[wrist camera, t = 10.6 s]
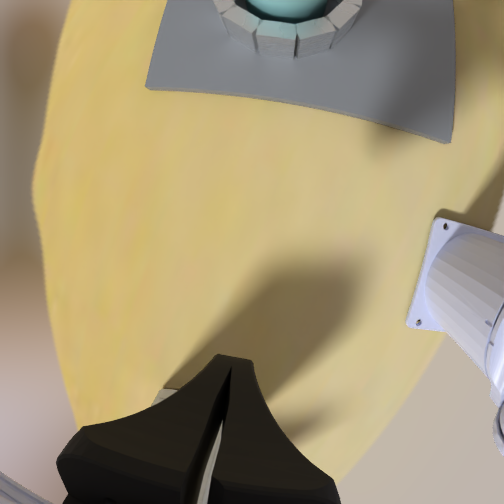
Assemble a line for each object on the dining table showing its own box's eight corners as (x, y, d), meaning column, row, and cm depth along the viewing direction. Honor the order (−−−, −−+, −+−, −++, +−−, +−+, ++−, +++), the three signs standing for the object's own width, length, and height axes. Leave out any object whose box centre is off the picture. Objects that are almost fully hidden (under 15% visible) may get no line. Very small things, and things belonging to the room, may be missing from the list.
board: (445, -13, 15) (450, -18, 14) (444, 143, 18) (450, 142, 17) (194, -59, 16) (191, -65, 15) (150, 90, 19) (145, 86, 18)
